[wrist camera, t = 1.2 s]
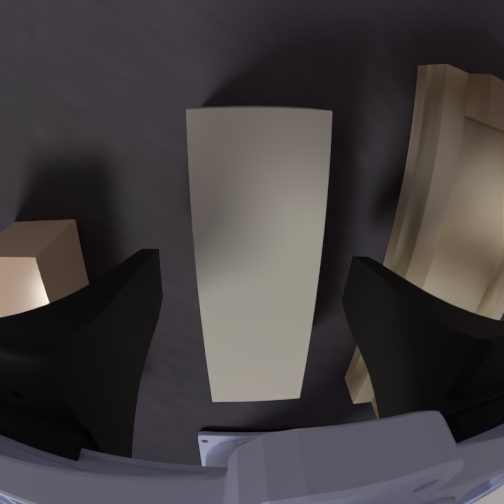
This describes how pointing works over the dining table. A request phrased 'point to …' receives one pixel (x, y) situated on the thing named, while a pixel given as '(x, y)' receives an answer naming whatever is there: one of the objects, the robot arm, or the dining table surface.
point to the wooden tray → (449, 200)
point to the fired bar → (39, 264)
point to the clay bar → (257, 241)
